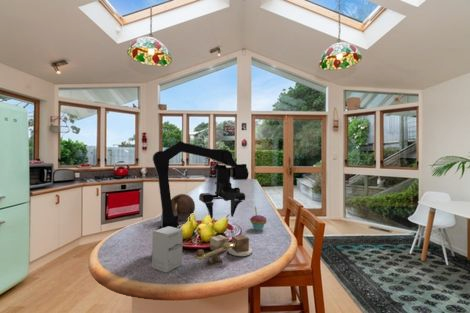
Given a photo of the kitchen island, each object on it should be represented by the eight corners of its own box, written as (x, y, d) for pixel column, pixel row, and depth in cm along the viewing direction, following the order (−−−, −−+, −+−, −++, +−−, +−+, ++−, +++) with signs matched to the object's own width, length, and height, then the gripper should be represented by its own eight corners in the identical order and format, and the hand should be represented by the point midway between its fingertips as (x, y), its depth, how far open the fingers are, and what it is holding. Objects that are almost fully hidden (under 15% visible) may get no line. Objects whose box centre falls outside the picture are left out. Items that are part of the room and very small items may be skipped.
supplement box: (166, 273, 81) (167, 234, 81) (151, 267, 85) (151, 230, 85) (182, 265, 87) (183, 228, 87) (167, 260, 91) (168, 225, 91)
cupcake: (247, 230, 128) (248, 206, 128) (253, 225, 136) (253, 203, 136) (264, 232, 125) (264, 208, 125) (268, 227, 133) (268, 205, 133)
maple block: (217, 253, 98) (217, 240, 98) (210, 249, 102) (210, 237, 102) (227, 250, 101) (227, 238, 101) (220, 246, 105) (220, 234, 105)
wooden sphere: (185, 215, 157) (185, 191, 157) (199, 220, 147) (200, 194, 146) (163, 219, 146) (163, 193, 146) (177, 225, 136) (178, 197, 136)
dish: (234, 259, 93) (235, 256, 93) (223, 250, 101) (224, 247, 101) (256, 254, 97) (256, 251, 97) (244, 246, 106) (244, 243, 106)
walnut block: (237, 252, 96) (237, 239, 96) (231, 248, 100) (231, 235, 100) (248, 250, 98) (248, 238, 98) (242, 246, 103) (242, 234, 103)
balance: (196, 269, 85) (196, 252, 84) (192, 263, 88) (192, 248, 88) (236, 260, 92) (237, 245, 92) (231, 256, 96) (231, 241, 96)
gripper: (208, 182, 93) (207, 224, 93) (252, 181, 101) (251, 220, 101) (199, 179, 103) (198, 217, 103) (239, 178, 111) (238, 214, 111)
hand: (222, 217), depth 104 cm, fingers open, 9 cm apart
